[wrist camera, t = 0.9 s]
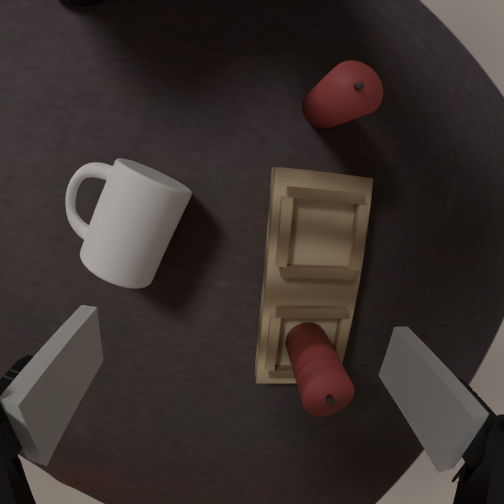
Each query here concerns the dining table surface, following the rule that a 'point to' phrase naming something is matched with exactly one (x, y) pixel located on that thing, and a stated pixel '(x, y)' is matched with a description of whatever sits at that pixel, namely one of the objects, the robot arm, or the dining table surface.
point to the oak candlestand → (311, 283)
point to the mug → (127, 221)
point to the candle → (343, 95)
